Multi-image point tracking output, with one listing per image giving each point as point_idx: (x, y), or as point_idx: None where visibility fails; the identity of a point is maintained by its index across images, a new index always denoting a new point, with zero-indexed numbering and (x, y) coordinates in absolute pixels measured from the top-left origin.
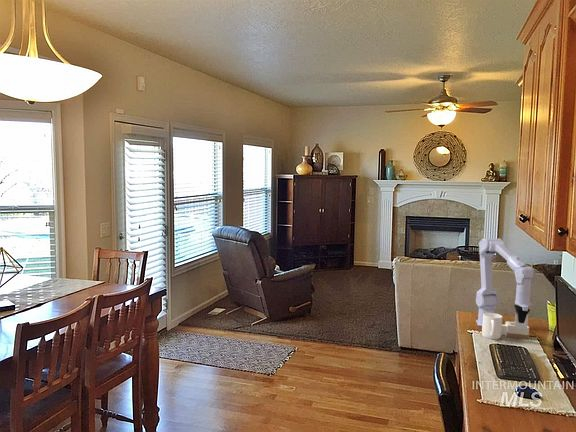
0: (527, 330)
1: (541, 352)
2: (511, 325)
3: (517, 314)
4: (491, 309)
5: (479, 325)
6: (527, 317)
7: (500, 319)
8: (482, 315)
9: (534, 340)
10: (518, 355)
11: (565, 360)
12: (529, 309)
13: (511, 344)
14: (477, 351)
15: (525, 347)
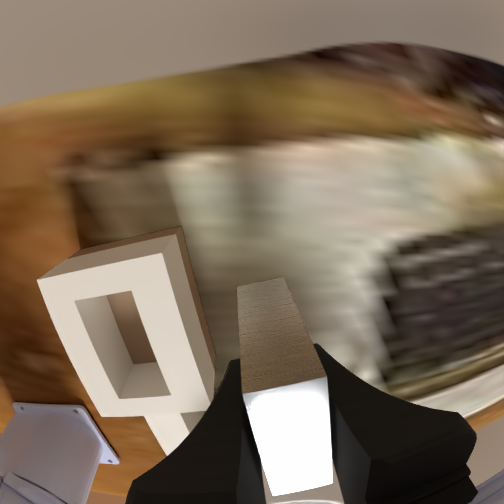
0: (171, 258)
1: (431, 155)
2: (192, 391)
3: (331, 468)
4: (51, 494)
5: (117, 459)
6: (316, 358)
7: (328, 488)
8: (89, 489)
9: (181, 183)
10: (500, 275)
11: (476, 57)
12: (433, 447)
13: (363, 323)
14: (479, 404)
15: (385, 245)
